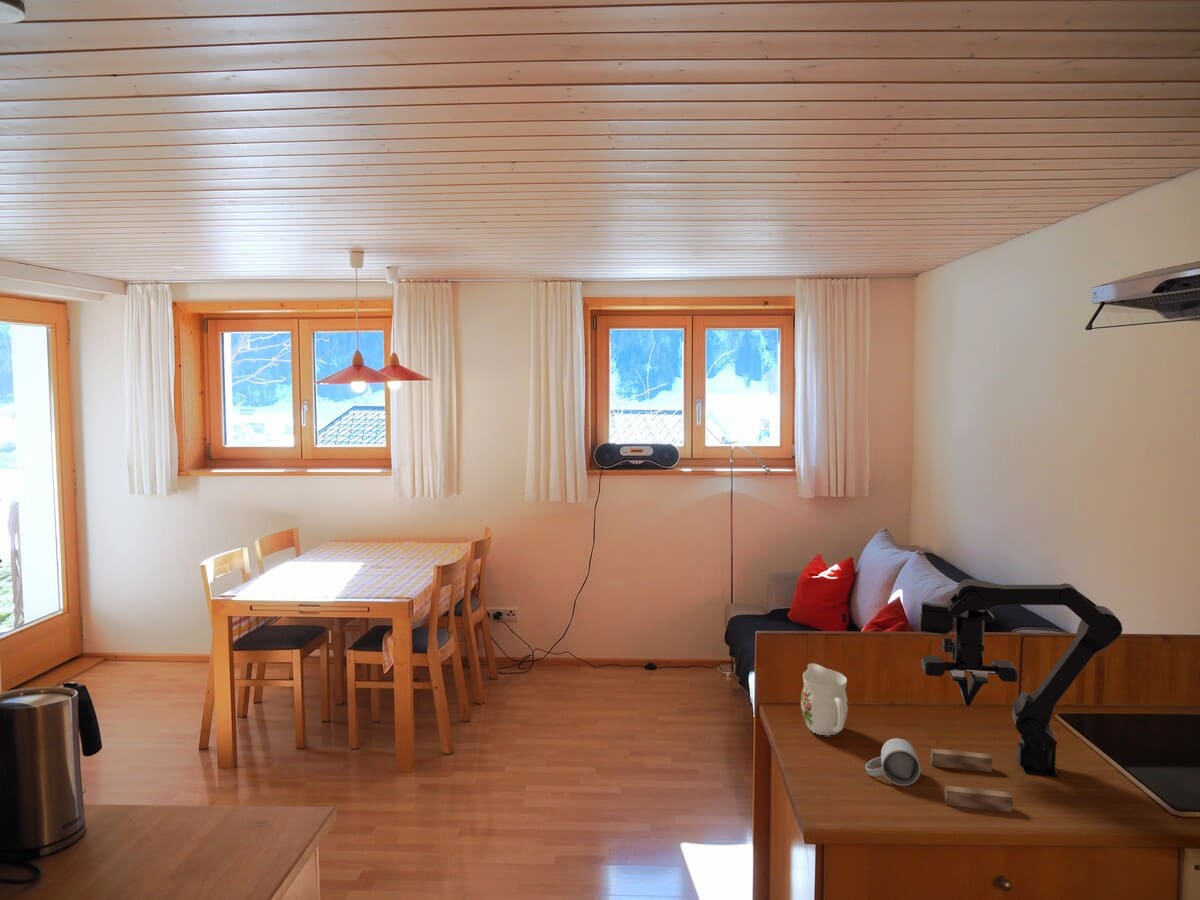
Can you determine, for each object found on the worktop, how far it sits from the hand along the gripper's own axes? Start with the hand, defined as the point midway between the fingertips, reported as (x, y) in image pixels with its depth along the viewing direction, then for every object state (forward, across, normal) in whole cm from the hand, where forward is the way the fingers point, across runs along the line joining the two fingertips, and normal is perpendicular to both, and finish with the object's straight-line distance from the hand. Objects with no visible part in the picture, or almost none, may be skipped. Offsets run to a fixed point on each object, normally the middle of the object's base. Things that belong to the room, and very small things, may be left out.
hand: (967, 705), depth 173 cm
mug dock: (+12, +2, +13) cm, 18 cm away
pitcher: (+12, +30, -6) cm, 33 cm away
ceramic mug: (+12, +17, +13) cm, 24 cm away
